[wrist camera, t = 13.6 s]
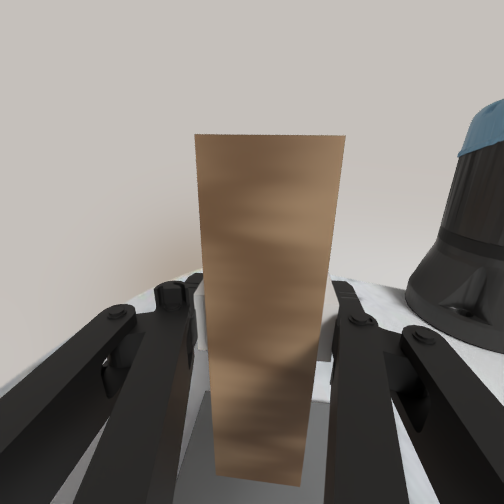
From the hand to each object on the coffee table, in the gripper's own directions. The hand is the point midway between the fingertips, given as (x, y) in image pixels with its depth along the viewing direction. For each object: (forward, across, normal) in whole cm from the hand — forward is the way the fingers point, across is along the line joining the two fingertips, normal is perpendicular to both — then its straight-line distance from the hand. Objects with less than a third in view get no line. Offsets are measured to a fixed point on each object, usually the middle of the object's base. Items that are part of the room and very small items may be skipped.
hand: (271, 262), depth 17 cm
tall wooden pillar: (-5, 0, -8) cm, 10 cm away
